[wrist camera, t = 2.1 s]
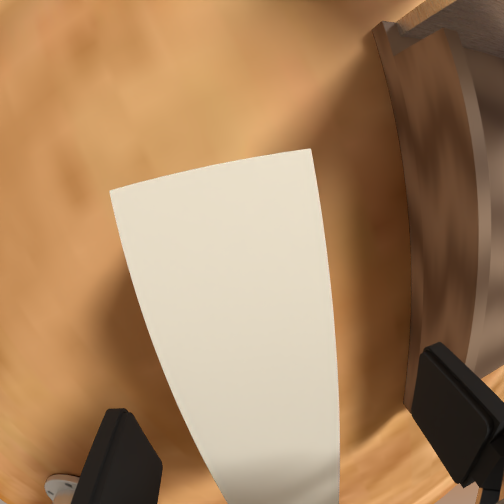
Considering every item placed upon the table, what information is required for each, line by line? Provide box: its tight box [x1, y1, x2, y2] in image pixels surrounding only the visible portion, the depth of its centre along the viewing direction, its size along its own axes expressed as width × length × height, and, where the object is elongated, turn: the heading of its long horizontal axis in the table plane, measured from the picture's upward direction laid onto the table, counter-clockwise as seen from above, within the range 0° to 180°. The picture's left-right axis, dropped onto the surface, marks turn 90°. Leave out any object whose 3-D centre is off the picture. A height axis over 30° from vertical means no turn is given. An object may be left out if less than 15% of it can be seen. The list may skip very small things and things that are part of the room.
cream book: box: [110, 149, 340, 504], centre depth 13 cm, size 16×4×11 cm, turn 11°
